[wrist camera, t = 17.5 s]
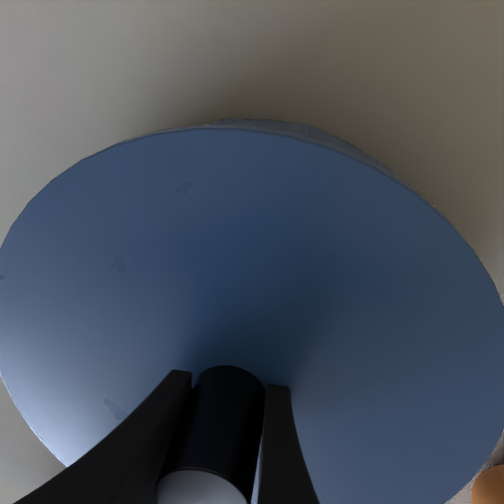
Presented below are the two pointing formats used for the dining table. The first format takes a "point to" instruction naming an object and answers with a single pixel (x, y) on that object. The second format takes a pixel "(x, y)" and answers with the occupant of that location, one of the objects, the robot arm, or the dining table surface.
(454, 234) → the lid
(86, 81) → the dining table surface
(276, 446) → the robot arm
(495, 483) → the drumstick
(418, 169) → the dining table surface
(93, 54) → the dining table surface
